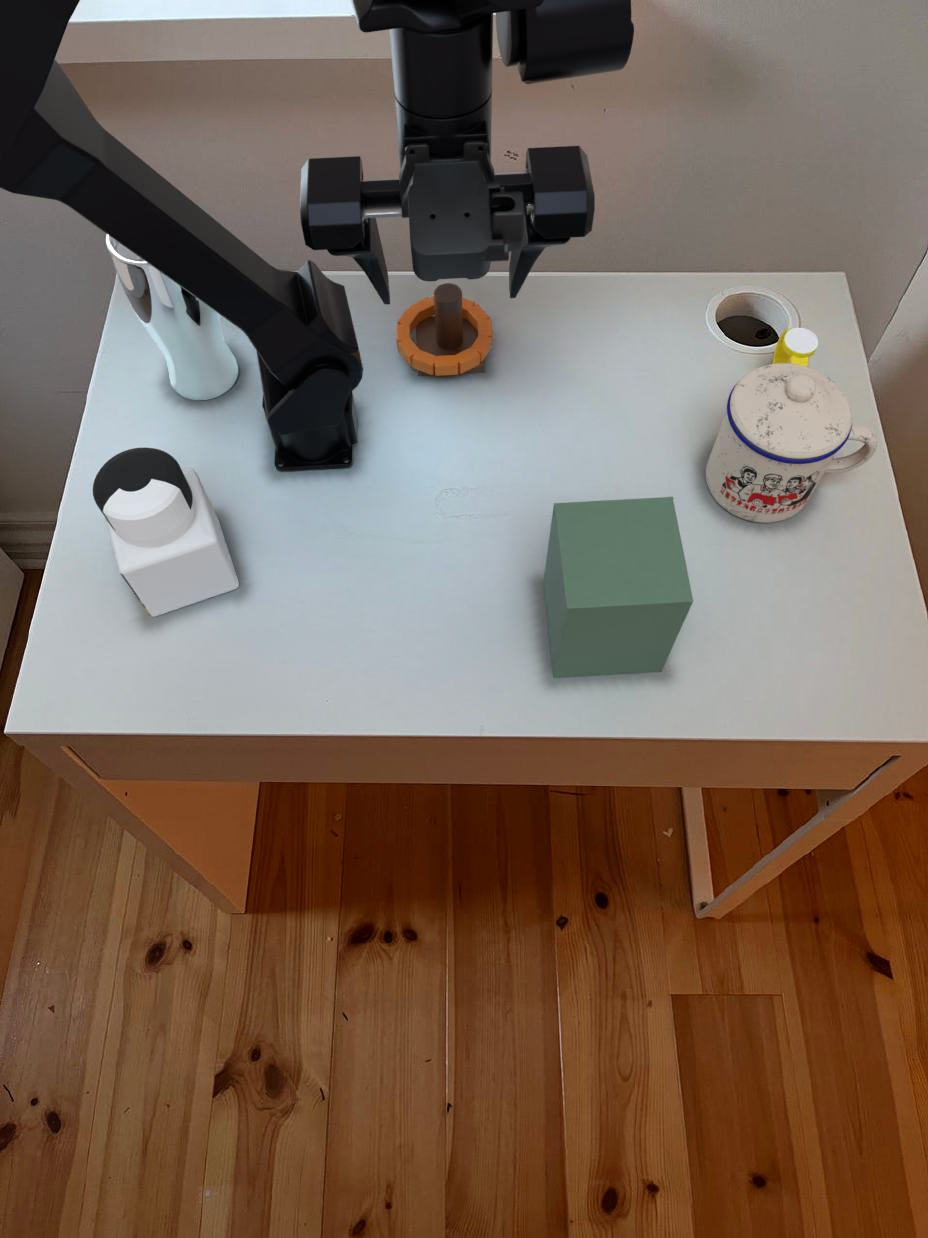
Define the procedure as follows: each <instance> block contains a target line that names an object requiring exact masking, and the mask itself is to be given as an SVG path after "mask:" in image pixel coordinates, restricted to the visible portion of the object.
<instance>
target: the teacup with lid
mask: <svg viewBox="0 0 928 1238" xmlns="http://www.w3.org/2000/svg"><path fill="white" fill-rule="evenodd" d="M848 441H855V442H861V443H863V445H862V446H861V447H860V448H859V449H857V450H856V451H853V453H851V454H849V455H846V456H842V457H835V455H836V454H837V452H839V451H840V450H841V449H842V448H843V447H844V445H845V444H846V443H847V442H848ZM877 448H878V439H877V435H876V433H875V432H874V431H873V430H872V429H871V428H869V427H867V426H863V425H859V424H853V412H852V407H851V404H850V402H849V399H848V397H847V395H846V394H845V392H844V390H843V389H842V388H841V387H840V386H839V384H837V383H836V382H835V381H834V380H833V379H832V378H830V377H829V376H827V375H826V374H824V373H822V372H820V371H819V370H817V369H814V368H811V367H809V366H808V367H806V366H802V365H797V364H790V362H789V363H777V364H772V363H770V364H766V365H762V366H760V367H757V368H755V369H753V370H751V371H749V372H748V373H746V374H745V375H744V376H743V377H741V378H740V379H739V380H738V381H737V382H736V383H735V384H734V386H733V388H732V389H731V390H730V392H729V395H728V398H727V403H726V412H725V415H724V417H723V420H722V422H721V426H720V428H719V431H718V434H717V436H716V438H715V442H714V444H713V446H712V449H711V452H710V454H709V457H708V460H707V463H706V467H705V481H706V485H707V488H708V490H709V491H710V494H711V496H712V497H713V499H714V500H715V501H716V502H717V503H718V504H719V505H720V506H721V507H722V508H723V509H724V510H726V511H727V512H728V513H730V514H732V515H733V516H736V517H738V518H740V519H743V520H746V521H749V522H754V523H763V524H764V523H765V524H767V523H777V522H782V521H785V520H787V519H789V518H792V517H793V516H795V515H796V514H798V513H799V512H800V511H802V509H803V508H805V506H806V505H807V504H808V502H809V501H810V499H811V497H812V495H813V493H814V492H815V490H816V488H817V487H818V485H819V483H820V482H821V480H822V478H823V476H824V474H837V473H838V474H841V473H845V472H849V471H853V470H855V469H857V468H859V467H860V466H862V465H864V464H865V463H867V462H868V461H869V460H870V459H872V457H873V456H874V454H875V453H876V451H877Z"/></svg>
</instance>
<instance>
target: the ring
mask: <svg viewBox="0 0 928 1238" xmlns="http://www.w3.org/2000/svg"><path fill="white" fill-rule="evenodd" d="M462 309H463V318H464V319H467V320H469V322H470V323H471V324H472V325H473V326H474V327H475V328H476V329H477V330H478V337H477V339H476V340H475V342H474V343H473V345H472V346H471V347H470V348H468V349H466V350H464V351H462V352H460V353H458V354H456V355H446V356H435V355H432V354H430V353H427V352H424V351H422V350H420V349H419V348H418V347H417V346H416V342H414V341H413V340H412V333H413V332H414V330H416V328H415V327H416V326H417V325H418V323H419V322H421V321H423V320H425V319H427V318H429V317H431V316H435V309H434V295H431V296H430V297H428V296H427V297H425V298H423V299H421V300H419V301H417V302H414V303H412V304H410V305H409V307H407V308H405V309H404V312H403V313H402V314H401V315H400V317H399V318H398V320H397V323H396V325H395V328H396V329H395V330H396V331H395V332H396V346H397V351H398V354H400V356H401V357H402V358H403V359H404V361H406V363H407V364H408V365H409V366H410V367H412V368H413V369H415V370H417V371H418V370H420V371H422V372H425V373H428V374H430V375H429V376H435V377H440V376H457V375H459V374H458V371H459V372H460V373H461V374H460V375H462V373H464V372H466V371H468V370H470V369H472V368H474V367H475V366H477V365H479V364H480V362H482V361H483V360H484V358H485V359H486V357H487V355H488V354H489V352H490V351H491V349H492V346H493V325H492V319H491V318H490V316H489V314H487V313H486V312H485V310H484V309H483V308H482V307H481V306H480V305H479V304H478V303H476V301H473V300H470V299H468V298H464V297H462ZM434 373H435V375H433V374H434ZM464 374H465V373H464Z"/></svg>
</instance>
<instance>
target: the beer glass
mask: <svg viewBox="0 0 928 1238" xmlns="http://www.w3.org/2000/svg"><path fill="white" fill-rule="evenodd" d="M105 242H106V243H105V244H106V247H107V249H108V251H109V254H110V256H111V261H112V264H113V266H114V269H115V272H116V275H117V277H118V280H119V283H120V285H121V288H122V290H123V292H124V294H125V297H126V299H127V301H128V303H129V305H130V307H131V308H132V310H133V312H134V314H135V315H136V316H137V318H138V319H139V321H140V322H141V324H142V325H143V327H144V328H145V330H146V331H147V333H148V334H149V335H150V337H151V338H152V339H153V341H154V342H155V343H156V345H157V347H158V348H159V350H160V351H161V353H162V355H163V357H164V360H165V362H166V365H167V370H168V377H169V382H170V385H171V387H172V389H173V390H174V391H175V392H176V393H177V394H178V395H179V396H181V397H183V398H185V399H187V400H193V401H206V400H207V401H208V400H212V399H215V398H218V397H220V396H222V395H224V394H225V393H227V392H228V391H229V390H230V389H231V388H233V386H234V385H235V384H236V382H237V380H238V376H239V364H238V362H237V359H236V357H235V356H234V354H233V352H232V350H231V349H230V348H229V346H228V344H227V342H226V340H225V338H224V334H223V329H222V328H223V327H222V322H221V315H220V314H218V313H217V312H216V311H214V310H213V309H211V308H210V307H209V306H207V305H206V304H204V303H203V302H202V301H200V300H199V299H197V298H196V297H195V296H193V295H192V294H190V293H189V292H188V291H186V290H185V289H183V288H182V287H181V286H179V285H178V284H176V283H175V282H174V281H172V280H171V279H169V278H168V277H167V276H165V275H164V274H162V273H161V272H160V271H158V270H157V269H155V268H154V267H153V266H151V265H150V264H148V263H147V262H146V261H144V260H143V259H141V258H140V257H139V256H137V255H136V254H134V253H133V252H131V251H130V250H129V249H127V248H126V247H124V246H123V245H122V244H120V243H119V242H117V241H116V240H115V239H113V238H112V237H110V236H109V235H108V234H106V237H105Z"/></svg>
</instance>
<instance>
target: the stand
mask: <svg viewBox="0 0 928 1238" xmlns="http://www.w3.org/2000/svg"><path fill="white" fill-rule="evenodd" d="M433 296H434V309H435V315H433V316H431V317H429V318H427V319H425V320H423V321H421V322H419V323H418V325H417V326H416V327H415V345H416V346H417V347H418V348H419V349H420V350H422V351H424V352H427V353H430V354H432V355H435V356H446V355H456V354H458V353H460V352H462V351H464V350H466V349H468V348H470V347H471V346H472V345H473V343H474V342H475V340H476V339H477V337H478V330H477V329H476V328H475V327H474V326H473V325H472V324H471V323H470V322H469V320H467V319H464V318H463V309H462V298H463V291H462V289H461V287H460V286H458V285H457V284H456V283H451V282H450V283H449V282H446V283H442V284H440V285H438V286H437V287H435V289H434V291H433ZM485 372H486V357H485V358H484V360H483V361H482V362H480V364H479V365H477V366H475V367H474V368H472V369H470V370H468V371H466V372H464V373H462V374H481V373H482V374H483V373H485ZM462 374H461V373H460V372H459V371H458V375H462ZM417 376H418V377H422V376H425V377H426V376H431V375H430V374H428V373H425V372H422V371H420V370H417ZM432 376H436V375H435V373H434V374H433V375H432Z"/></svg>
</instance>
